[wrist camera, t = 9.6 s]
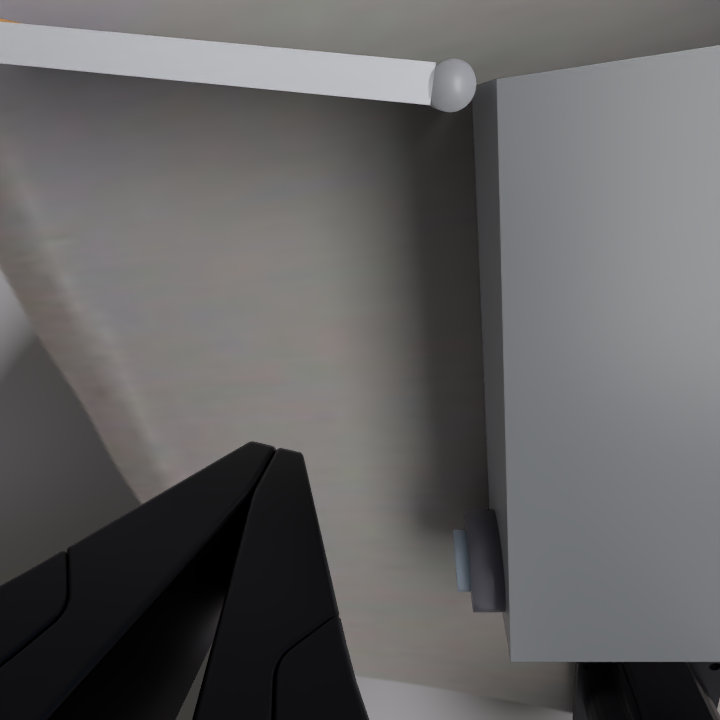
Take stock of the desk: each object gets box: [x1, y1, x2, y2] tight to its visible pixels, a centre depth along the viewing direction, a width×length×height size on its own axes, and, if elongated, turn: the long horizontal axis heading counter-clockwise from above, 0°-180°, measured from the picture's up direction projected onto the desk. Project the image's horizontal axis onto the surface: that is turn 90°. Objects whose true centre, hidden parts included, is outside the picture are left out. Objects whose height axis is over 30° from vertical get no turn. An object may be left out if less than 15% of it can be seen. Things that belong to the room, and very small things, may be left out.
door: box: [0, 19, 476, 112], centre depth 14 cm, size 14×1×5 cm, turn 85°
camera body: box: [453, 45, 720, 662], centre depth 16 cm, size 18×12×6 cm, turn 8°
